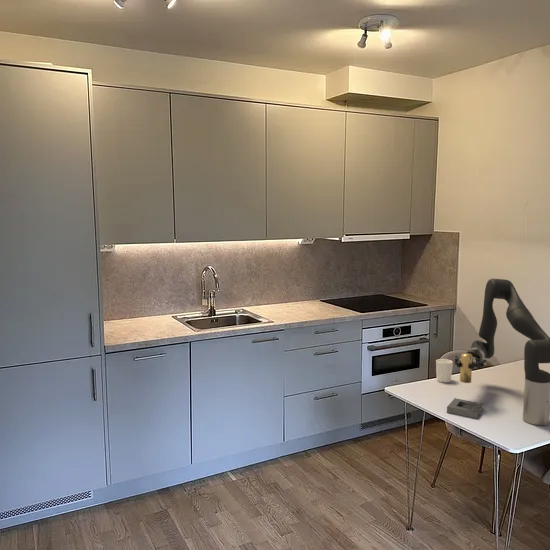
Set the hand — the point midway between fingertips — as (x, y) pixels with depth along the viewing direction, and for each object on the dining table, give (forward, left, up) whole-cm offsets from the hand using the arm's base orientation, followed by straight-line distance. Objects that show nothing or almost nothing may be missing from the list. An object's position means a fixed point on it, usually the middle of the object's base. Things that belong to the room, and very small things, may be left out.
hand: (464, 366), depth 215 cm
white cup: (+17, -30, -18) cm, 39 cm away
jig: (-2, +5, -18) cm, 19 cm away
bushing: (0, -3, -8) cm, 8 cm away
